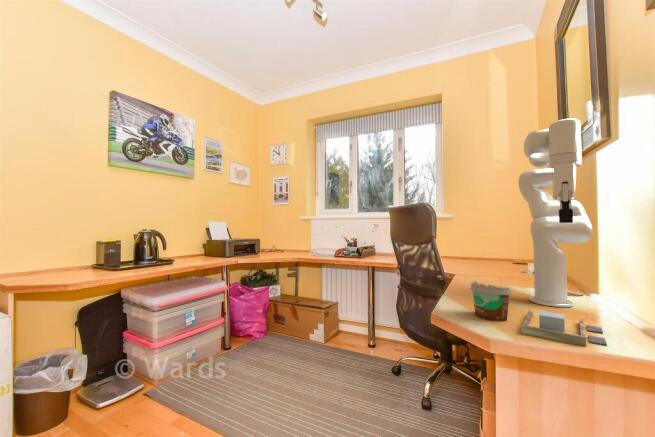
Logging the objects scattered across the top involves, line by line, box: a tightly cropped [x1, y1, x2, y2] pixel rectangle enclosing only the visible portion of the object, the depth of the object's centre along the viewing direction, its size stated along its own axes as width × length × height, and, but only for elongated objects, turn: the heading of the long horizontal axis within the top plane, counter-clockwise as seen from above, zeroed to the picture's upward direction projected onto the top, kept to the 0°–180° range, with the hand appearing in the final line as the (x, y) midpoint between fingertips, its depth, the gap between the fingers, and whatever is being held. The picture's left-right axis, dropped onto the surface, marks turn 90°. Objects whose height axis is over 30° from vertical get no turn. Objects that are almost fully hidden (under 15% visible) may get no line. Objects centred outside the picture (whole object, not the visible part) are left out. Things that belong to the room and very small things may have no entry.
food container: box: [469, 280, 512, 322], centre depth 89 cm, size 12×6×10 cm, turn 23°
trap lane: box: [520, 310, 608, 347], centre depth 78 cm, size 20×16×2 cm
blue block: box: [538, 310, 566, 333], centre depth 75 cm, size 5×5×5 cm
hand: (566, 222), depth 86 cm, fingers closed
